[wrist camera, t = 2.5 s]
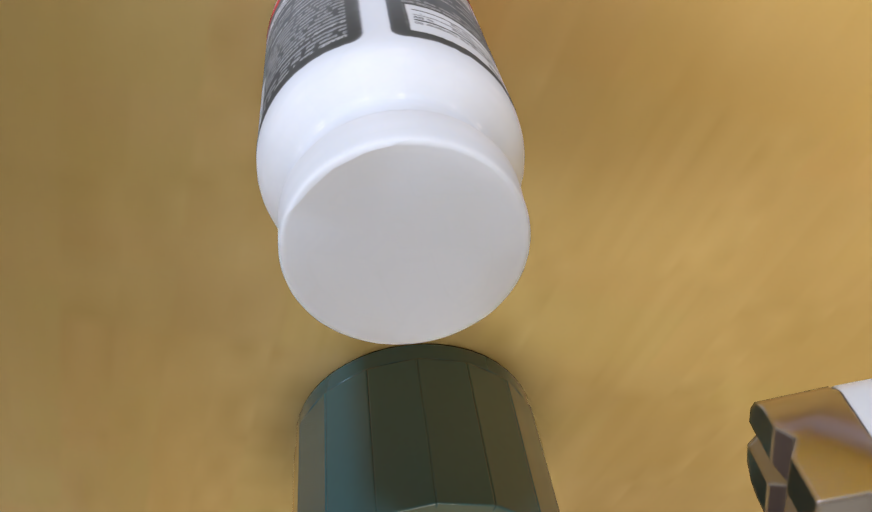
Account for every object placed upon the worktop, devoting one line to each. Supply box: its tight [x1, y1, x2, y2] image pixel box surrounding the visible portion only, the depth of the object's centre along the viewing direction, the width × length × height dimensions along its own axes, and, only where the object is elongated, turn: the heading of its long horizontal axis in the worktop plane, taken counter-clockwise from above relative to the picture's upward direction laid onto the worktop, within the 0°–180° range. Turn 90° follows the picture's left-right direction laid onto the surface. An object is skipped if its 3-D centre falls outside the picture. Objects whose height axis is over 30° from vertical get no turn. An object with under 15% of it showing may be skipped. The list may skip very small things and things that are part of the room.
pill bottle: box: [256, 0, 531, 345], centre depth 19 cm, size 6×6×10 cm
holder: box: [292, 344, 560, 512], centre depth 30 cm, size 9×9×7 cm
